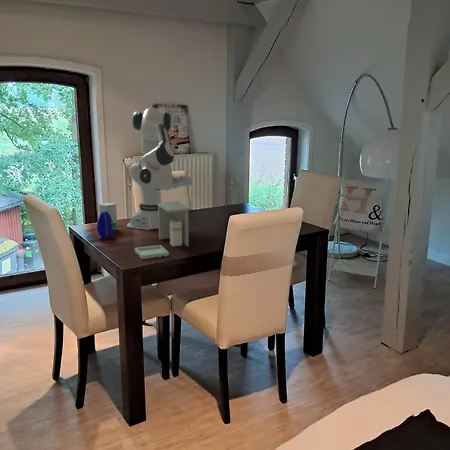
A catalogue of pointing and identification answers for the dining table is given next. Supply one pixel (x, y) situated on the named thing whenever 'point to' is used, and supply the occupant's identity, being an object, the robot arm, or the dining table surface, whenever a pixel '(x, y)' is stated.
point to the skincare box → (110, 211)
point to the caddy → (175, 232)
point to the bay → (168, 213)
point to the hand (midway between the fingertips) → (182, 185)
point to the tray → (151, 252)
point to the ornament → (105, 225)
